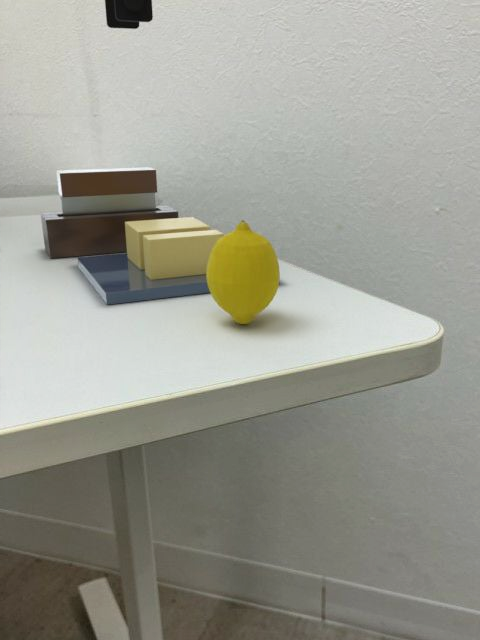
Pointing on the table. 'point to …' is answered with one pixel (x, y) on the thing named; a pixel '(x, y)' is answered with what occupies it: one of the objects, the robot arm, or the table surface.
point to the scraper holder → (92, 231)
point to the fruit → (243, 273)
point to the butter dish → (134, 280)
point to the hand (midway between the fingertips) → (128, 24)
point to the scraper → (107, 191)
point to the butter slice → (178, 253)
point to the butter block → (152, 227)
